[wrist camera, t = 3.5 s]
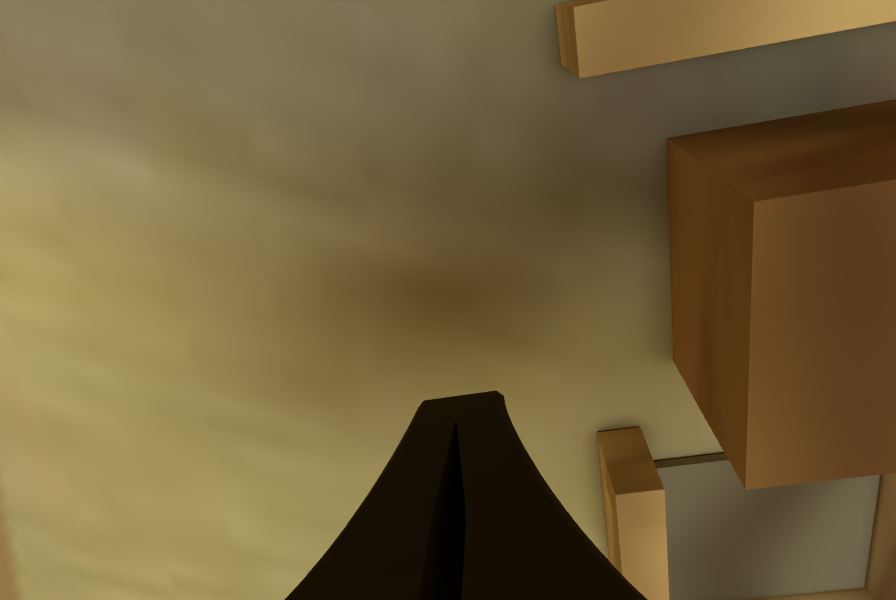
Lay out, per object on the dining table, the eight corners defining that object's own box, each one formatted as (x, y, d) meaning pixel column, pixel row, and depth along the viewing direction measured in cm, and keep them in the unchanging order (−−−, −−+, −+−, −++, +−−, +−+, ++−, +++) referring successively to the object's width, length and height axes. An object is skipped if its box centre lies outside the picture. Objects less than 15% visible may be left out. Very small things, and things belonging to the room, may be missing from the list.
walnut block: (895, 98, 14) (1096, 147, 10) (867, 332, 17) (1016, 459, 12) (665, 137, 15) (754, 201, 10) (672, 359, 17) (745, 489, 13)
